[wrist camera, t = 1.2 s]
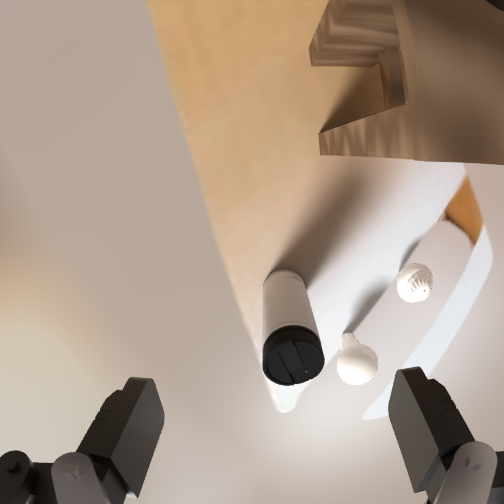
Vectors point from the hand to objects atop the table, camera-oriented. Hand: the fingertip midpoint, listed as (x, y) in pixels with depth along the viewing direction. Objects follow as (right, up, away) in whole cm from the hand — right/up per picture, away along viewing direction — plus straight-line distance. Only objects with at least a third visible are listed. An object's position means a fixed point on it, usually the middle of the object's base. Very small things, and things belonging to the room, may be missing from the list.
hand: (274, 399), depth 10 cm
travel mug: (+4, 0, +39) cm, 40 cm away
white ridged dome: (+24, +1, +38) cm, 45 cm away
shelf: (+12, +26, +31) cm, 42 cm away
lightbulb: (+15, -9, +42) cm, 45 cm away
